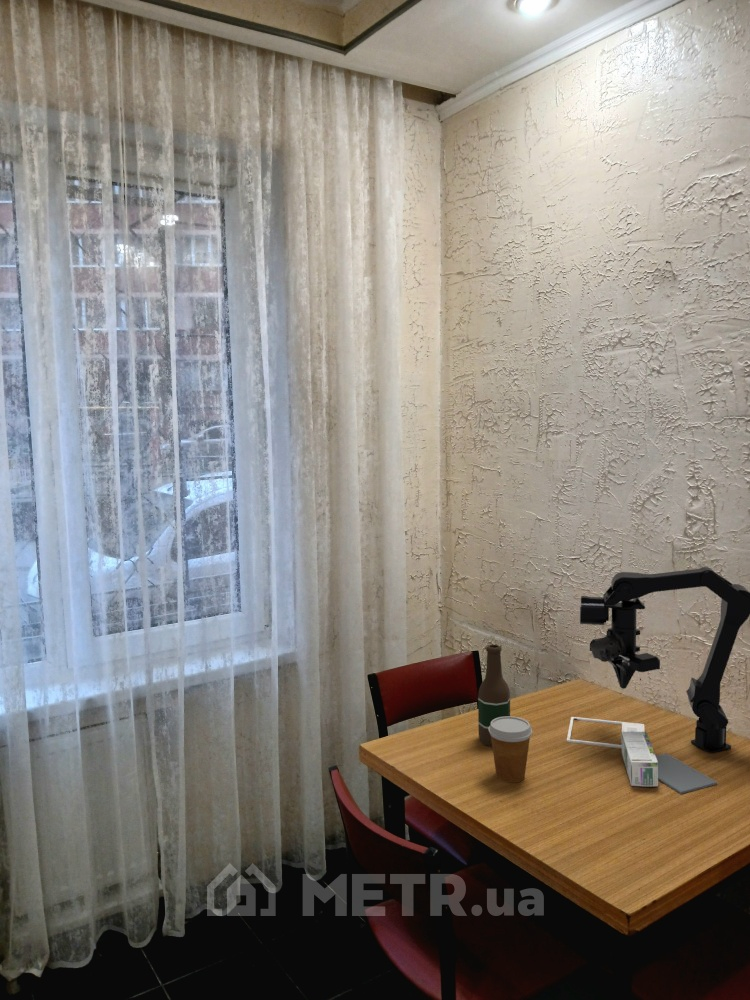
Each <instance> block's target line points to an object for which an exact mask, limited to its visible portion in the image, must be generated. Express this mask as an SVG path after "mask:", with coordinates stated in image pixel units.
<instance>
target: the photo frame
mask: <svg viewBox="0 0 750 1000" xmlns="http://www.w3.org/2000/svg"><path fill="white" fill-rule="evenodd" d="M574 720H577V721H582V722H590V723H591V722H593V723H600V724H601V723H603V724H611V725H612V724H613V725H620V726H621V732H646V731H645V724H644V723H636V722H627V721H618V720H617V721H615V720H608V719H607V720H606V719H598V718H597V719H596V718H587V717H579V716H578V717H575V716H570V721H569V727H568V732H567V735H566V737H567V738H566V743H573V744H581V745H590V746H600V747H607V748H616V749H622V744H617V743H615V744H614V743H607V742H597V741H588V740H579V739H571V734H572V729H573V724H574Z"/></svg>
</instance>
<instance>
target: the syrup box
mask: <svg viewBox="0 0 750 1000" xmlns="http://www.w3.org/2000/svg"><path fill="white" fill-rule="evenodd" d="M620 742H621V745H622V748H621V755H622V756H621V757H622V759H623V763H624V766H625V769H626V773H627V777H628V779H629V782H630V786H632V787H658V786H659V780H658V761H657V758H656V756H657V755H656V754H655V751H654V748H653V745H652V742H651V740H650V737H649V735H648V732H647V731H645V732H622V731H621V732H620Z"/></svg>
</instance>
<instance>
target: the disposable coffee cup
mask: <svg viewBox="0 0 750 1000" xmlns="http://www.w3.org/2000/svg"><path fill="white" fill-rule="evenodd" d="M489 732H490V735H491V740H492V746H491V747H492V753H493V761H494V770H495V776H496V778H497V779H499V780H500V781H503V782H505V783H518V782H521V781H523V780H524V779H525V777H526V771H527V770H526V769H527V761H528V754H529V746H530V741H531V736H532V734H533V729H532V727H531V725H530V722H529V721H528V720H527V719H525V718H523V717H522V718H521V717H518V716H512V715H510V716H504V717H498V718H495V719H493V720H492V721H491V724H490V726H489Z"/></svg>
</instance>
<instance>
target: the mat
mask: <svg viewBox="0 0 750 1000" xmlns="http://www.w3.org/2000/svg"><path fill="white" fill-rule="evenodd" d="M655 756H656V758H657V761H658V782H661V783H662V784H664V785H665V786H667V787H669V788H670V789H672V790H674V791H675V792H677V793H678V794H680V795H682V794H687V793H691V792H694V791H698V790H702V789H704V788H709V787H712V786H716V785H718V781H716V780H715V779H713V778H711V777H709V776H707V775H706V774H704V773H702V772H700V771H698V770H696V769H695V768H693V767H692V766H690V765H688V764H686V763H684V762H683V761H681V760H679V759H677V758H676V757H674V756H673V755H670V754H668V753H667V752H665V753H662V754H657V755H655Z"/></svg>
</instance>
